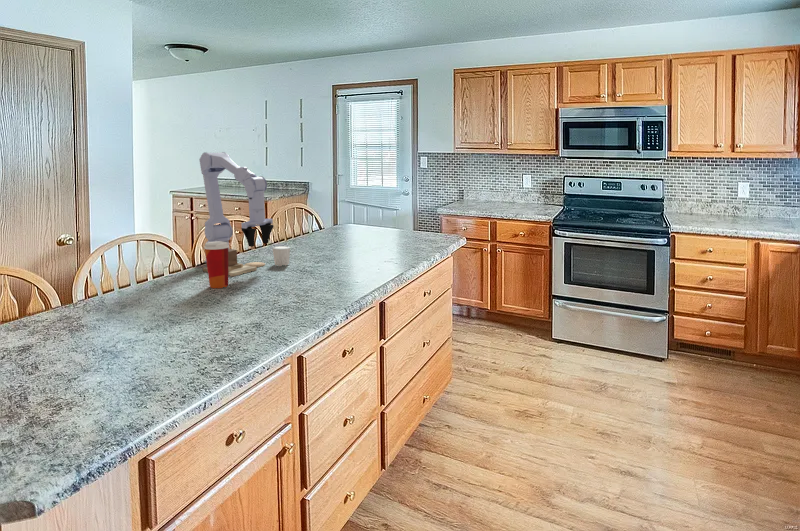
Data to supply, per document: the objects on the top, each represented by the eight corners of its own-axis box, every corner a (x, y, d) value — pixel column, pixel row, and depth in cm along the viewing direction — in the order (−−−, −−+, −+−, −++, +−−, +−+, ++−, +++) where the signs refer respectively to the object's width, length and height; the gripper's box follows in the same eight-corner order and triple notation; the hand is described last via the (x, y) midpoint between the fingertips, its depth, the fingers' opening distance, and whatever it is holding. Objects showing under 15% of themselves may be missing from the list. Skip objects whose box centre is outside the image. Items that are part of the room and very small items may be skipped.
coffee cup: (221, 282, 200) (218, 240, 197) (236, 285, 196) (234, 242, 192) (201, 287, 193) (197, 243, 190) (216, 290, 189) (213, 246, 186)
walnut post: (222, 271, 217) (221, 250, 216) (230, 269, 221) (229, 248, 219) (229, 272, 215) (228, 251, 214) (237, 270, 219) (236, 249, 217)
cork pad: (240, 265, 226) (240, 264, 226) (254, 262, 233) (254, 261, 233) (254, 268, 222) (254, 267, 222) (269, 264, 229) (269, 263, 229)
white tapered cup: (286, 266, 226) (285, 249, 224) (270, 265, 227) (269, 248, 225) (293, 262, 232) (292, 246, 231) (277, 262, 233) (276, 245, 232)
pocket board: (203, 271, 217) (202, 265, 216) (227, 265, 227) (226, 259, 227) (233, 276, 209) (232, 269, 208) (256, 270, 219) (256, 264, 219)
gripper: (250, 212, 206) (252, 248, 209) (278, 208, 218) (279, 242, 221) (236, 210, 209) (238, 247, 212) (264, 206, 221) (265, 241, 224)
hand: (258, 244), depth 217 cm, fingers open, 7 cm apart
